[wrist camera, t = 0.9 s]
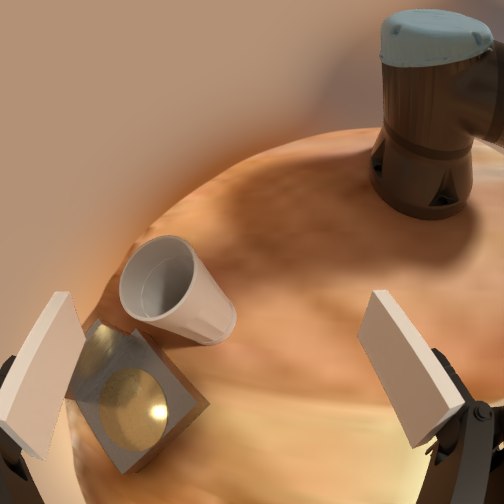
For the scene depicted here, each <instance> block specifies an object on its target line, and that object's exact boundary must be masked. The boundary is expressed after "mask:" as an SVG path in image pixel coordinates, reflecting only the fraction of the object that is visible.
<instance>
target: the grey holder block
mask: <svg viewBox="0 0 504 504" xmlns="http://www.w3.org/2000/svg"><path fill="white" fill-rule="evenodd" d="M84 335H85V338H86V341H85V343H84V346H83V348H82V350H81V353H80V356H79V358H78V361H77V363H76V366H75V369H74V371H73V374H72V377H71V379H70V382H69V385H68V388H67V391H66V394H65V397H64V398H67V399H72V400H76V402H77V404H78V406H79V408H80V410H81V412H82V413H83V415H84V417H85V419H86V420H87V422H88V424H89V426H90V427H91V429H92V431H93V432H94V434H95V436H96V437H97V439H98V440H99V442H100V444H101V445H102V447H103V448H104V450H105V451H106V453H107V454H108V456H109V457H110V459H111V460H112V462H113V463H114V465H115V466H116V467H117V469H118V470H119V472H120V473H121V474H122V475H126V474H132V473H138V472H139V471H140V470H141V469H142V468H143V467H144V466H146V465H147V464H148V463H149V462H150V461H151V460H152V459H153V458H154V457H156V456H157V455H158V454H159V453H160V452H161V451H162V450H163V449H164V448H165V447H166V446H167V445H169V444H170V443H171V442H172V441H173V440H174V439H175V438H176V437H177V436H178V435H179V434H180V433H181V432H182V431H183V430H184V429H185V428H186V427H187V426H188V425H189V424H190V423H191V422H192V421H193V420H195V419H196V418H197V417H198V416H199V415H200V414H201V413H202V412H203V411H204V410H205V409H206V407H207V406H208V405H209V404H210V403H209V402H208V401H207V400H206V399H205V398H204V397H203V396H202V395H201V394H200V393H199V391H198V390H197V389H196V388H195V387H194V386H193V385H192V384H191V383H190V382H189V381H188V379H187V378H186V377H185V376H184V375H183V374H182V373H181V372H180V370H179V369H178V368H177V367H176V366H175V365H174V363H173V362H172V361H171V360H170V359H169V358H168V356H167V355H166V354H165V353H164V352H163V350H162V349H161V348H160V347H159V346H158V344H157V343H156V342H155V341H154V339H153V338H152V337H151V336H150V335H149V334H147V333H145V332H143V331H141V330H139V329H137V328H136V329H135V330H134V331H133V332H132V333H131V334H130V333H128V332H125V331H123V330H121V329H119V328H117V327H115V326H113V325H111V324H109V323H107V322H105V321H103V320H101V319H99V318H98V319H97V320H96V321H95V322H94V323H93V325H92V326H91V327H90V328H89V329H88V331H87V332H86V333H85V334H84Z"/></svg>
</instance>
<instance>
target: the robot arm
mask: <svg viewBox="0 0 504 504" xmlns="http://www.w3.org/2000/svg"><path fill="white" fill-rule="evenodd" d="M379 56H380V59H381V62H382V75H383V105H384V106H383V110H384V111H383V112H384V121H383V126H382V129H381V131H380V133H379V135H378V138H377V140H376V142H375V144H374V147H373V149H372V151H371V155H370V178H371V182H372V184H373V186H374V188H375V190H376V191H377V193H378V194H379V195H380V197H381V198H382V199H383V200H384V201H385V202H387V203H388V204H389V205H390V206H392V207H393V208H395V209H396V210H398V211H400V212H402V213H404V214H406V215H409V216H412V217H415V218H419V219H426V220H439V219H444V218H448V217H450V216H453V215H454V214H456V213H458V212H459V211H460V210H461V209H462V208H463V207H464V205H465V204H466V202H467V199H468V197H469V194H470V192H471V189H472V183H473V173H472V155H471V148H472V144H473V140H474V138H475V137H476V138H479V139H482V140H485V141H488V142H490V143H493V144H496V145H498V146H501V147H503V148H504V44H503V43H501V42H498V41H495V40H493V36H492V34H491V32H490V29H489V28H488V27H487V26H486V25H485V24H484V23H482V22H480V21H478V20H476V19H474V18H471V17H466V16H464V15H462V14H459V13H455V12H449V11H443V10H432V9H413V10H406V11H401V12H397V13H394V14H392V15H390V16H388V17H387V18H386V19H385V20H384V22H383V23H382V25H381V51H380V54H379ZM357 337H358V339H359V341H360V343H361V344H362V346H363V348H364V350H365V352H366V354H367V356H368V358H369V360H370V362H371V364H372V366H373V368H374V370H375V372H376V374H377V376H378V378H379V380H380V382H381V384H382V386H383V388H384V390H385V392H386V394H387V396H388V398H389V400H390V402H391V404H392V406H393V408H394V410H395V412H396V414H397V417H398V419H399V421H400V423H401V425H402V427H403V429H404V432H405V434H406V436H407V438H408V440H409V443H410V445H411V447H412V449H413V448H416V447H418V446H421V445H423V444H426V443H428V442H429V441H430V440H431V439H432V438H433V437H434V436H435V435H436V437H437V439H438V440H437V441H436V442H435V443H434V444H433V445H432V446H431V447H430V448H429V449H427V451H426V453H425V455H427V454H429V453H430V452H431V451H432V450H433V452H432V454H431V455H430V456H431V459H430V463H429V466H428V469H427V473H426V476H425V479H424V482H423V485H422V488H421V491H420V494H419V497H418V499H417V502H416V504H504V448H503V449H502V450H500V449H499V445H500V444H501V443H502V442H504V406H501V407H490V406H489V405H488V404H487V403H485V402H483V401H475V400H474V399H473V398H472V396H471V394H470V393H469V391H468V390H467V388H466V387H465V385H464V384H463V382H462V381H461V379H460V378H459V376H458V375H457V374H456V373H455V370H454V369H453V367H452V366H451V364H450V363H449V361H448V360H447V359H446V357H445V356H444V355H443V354H442V353H441V352H439V351H438V350H437V349H436V348H433V349H430V348H429V346H428V345H427V343H426V342H425V341H424V339H423V338H422V336H421V335H420V334H419V332H418V331H417V329H416V328H415V327H414V325H413V324H412V322H411V321H410V320H409V318H408V317H407V316H406V314H405V313H404V312H403V310H402V309H401V308H400V306H399V305H398V304H397V302H396V301H395V300H394V298H393V297H392V296H391V295H390V293H389V292H388V291H387V290H373V291H372V294H371V297H370V300H369V303H368V306H367V309H366V312H365V315H364V318H363V321H362V324H361V327H360V329H359V332H358V335H357ZM85 341H86V338H85V335H84V333H83V330H82V327H81V324H80V322H79V319H78V316H77V313H76V310H75V307H74V304H73V301H72V298H71V295H70V292H59V291H56V292H55V293H54V295H53V296H52V298H51V299H50V301H49V303H48V304H47V305H46V307H45V309H44V310H43V312H42V313H41V315H40V317H39V318H38V320H37V322H36V323H35V325H34V326H33V328H32V330H31V332H30V333H29V335H28V337H27V339H26V340H25V342H24V344H23V346H22V347H21V349H20V351H19V353H18V355H17V356H13V355H12V356H11V357H10V358H9V359H8V360H7V361H6V362H5V363H4V364H3V365H2V367H1V369H0V504H45V503H44V502H43V500H42V498H41V496H40V494H39V492H38V489H37V487H36V485H35V483H34V481H33V479H32V477H31V474H30V472H29V470H28V467H27V465H26V463H25V460H24V459H23V457H22V455H21V450H22V449H23V450H24V451H25V452H26V453H28V454H29V455H30V456H32V457H35V458H38V459H41V460H44V461H46V458H47V454H48V450H49V446H50V443H51V439H52V435H53V432H54V428H55V425H56V422H57V418H58V415H59V412H60V409H61V406H62V402H63V400H64V397H65V394H66V391H67V388H68V385H69V382H70V379H71V377H72V374H73V371H74V369H75V366H76V363H77V361H78V358H79V356H80V353H81V350H82V348H83V346H84V343H85Z"/></svg>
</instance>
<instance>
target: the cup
mask: <svg viewBox="0 0 504 504" xmlns="http://www.w3.org/2000/svg"><path fill="white" fill-rule="evenodd" d="M119 296H120V301H121V304H122V306H123V308H124V309H125V311H126V312H127V313H128V314H129V315H130V316H132V317H133V318H135V319H137V320H140V321H142V322H145V323H148V324H150V325H153V326H156V327H158V328H162V329H165V330H168V331H170V332H173V333H175V334H178V335H181V336H183V337H186V338H189V339H191V340H194V341H195V342H197V343H199V344H202V345H206V346H212V345H216V344H219V343H221V342H223V341H224V340H226V339H227V338H228V337H229V336H230V334H231V333H232V332H233V330H234V327H235V325H236V319H237V315H236V310H235V307H234V305H233V304H232V302H231V301H230V300H229V299H228V298H227V297H226V295H225V294H224V293H223V291H222V290H221V288H220V287H219V286H218V284H217V283H216V281H215V280H214V279H213V277H212V276H211V274H210V273H209V271H208V270H207V269H206V267H205V266H204V264H203V263H202V261H201V260H200V258H199V257H198V255H197V254H196V252H195V251H194V249H193V248H192V246H191V245H190V244H189V243H188V242H187V241H186V240H184V239H182V238H180V237H177V236H171V235H167V236H160V237H157V238H154V239H152V240H150V241H148V242H146V243H145V244H143V245H142V246H141V247H139V248H138V249H137V250H136V251H135V252H134V253H133V255H132V256H131V257H130V258H129V260H128V261H127V263H126V265H125V267H124V269H123V271H122V274H121V278H120V283H119Z"/></svg>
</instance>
